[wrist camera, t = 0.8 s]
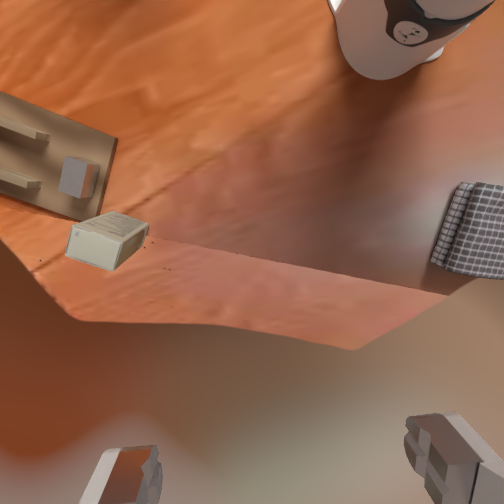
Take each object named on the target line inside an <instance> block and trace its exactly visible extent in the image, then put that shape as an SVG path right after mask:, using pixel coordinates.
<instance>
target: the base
mask: <svg viewBox="0 0 504 504" xmlns="http://www.w3.org/2000/svg"><path fill="white" fill-rule="evenodd" d="M117 142H118V138H115V137H113V136H110V135H108V134H105V133H103V132H100V131H98V130H96V129H93V128H91V127H88V126H86V125H83V124H81V123H78V122H76V121H73V120H71V119H68V118H66V117H63V116H61V115H58V114H56V113H53V112H51V111H48V110H46V109H43V108H41V107H38V106H36V105H34V104H31V103H29V102H26V101H24V100H21V99H19V98H16V97H14V96H11V95H9V94H6V93H4V92H1V91H0V193H2V194H5V195H8V196H11V197H14V198H17V199H19V200H22V201H25V202H28V203H31V204H34V205H37V206H39V207H42V208H45V209H48V210H51V211H54V212H57V213H59V214H62V215H65V216H68V217H71V218H74V219H77V220H79V221H82V222H83V221H85V220H88V219H91V218H94V217H97V216H99V213H100V209H101V206H102V202H103V198H104V194H105V190H106V186H107V182H108V178H109V174H110V170H111V166H112V162H113V158H114V154H115V150H116V146H117ZM65 156H75V157H81V158H83V159H86V160H89V161H91V162H94V163H96V164H99V165H100V167H99V171H98V175H97V179H96V183H95V187H94V191H93V196H92V197H86V198H81V199H79V198H77V197H74V196H71V195H68V194H66V193H63V192H60V191H58V188H59V183H60V178H61V173H62V169H63V164H64V159H65Z"/></svg>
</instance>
